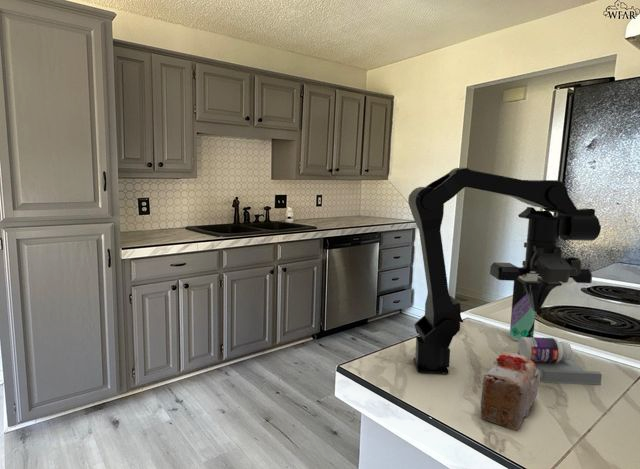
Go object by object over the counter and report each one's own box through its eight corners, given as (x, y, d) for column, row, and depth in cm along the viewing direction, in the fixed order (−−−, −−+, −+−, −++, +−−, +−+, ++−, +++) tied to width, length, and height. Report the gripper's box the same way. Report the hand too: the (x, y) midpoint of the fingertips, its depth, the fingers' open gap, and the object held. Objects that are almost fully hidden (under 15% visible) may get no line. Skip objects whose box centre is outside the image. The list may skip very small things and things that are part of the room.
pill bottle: (529, 351, 86) (576, 352, 86) (521, 331, 91) (566, 333, 90) (523, 366, 90) (568, 368, 89) (515, 347, 94) (558, 348, 93)
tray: (544, 382, 81) (545, 371, 81) (517, 354, 94) (518, 345, 94) (600, 384, 80) (601, 374, 80) (566, 356, 93) (567, 347, 93)
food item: (494, 386, 79) (498, 339, 78) (539, 399, 75) (544, 349, 74) (476, 418, 69) (479, 364, 67) (527, 436, 64) (532, 378, 63)
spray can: (504, 335, 106) (510, 262, 103) (521, 333, 108) (527, 261, 105) (520, 343, 101) (527, 266, 98) (537, 341, 102) (544, 265, 100)
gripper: (511, 244, 77) (505, 322, 79) (613, 247, 75) (604, 326, 77) (491, 236, 88) (486, 305, 90) (580, 239, 86) (573, 308, 88)
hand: (535, 311), depth 86 cm, fingers closed
